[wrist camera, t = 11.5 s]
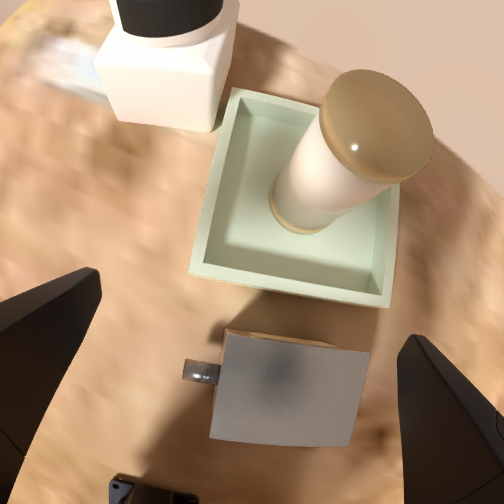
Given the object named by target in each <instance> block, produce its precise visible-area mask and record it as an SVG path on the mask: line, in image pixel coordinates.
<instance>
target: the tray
mask: <svg viewBox="0 0 504 504" xmlns="http://www.w3.org/2000/svg"><path fill="white" fill-rule="evenodd" d="M319 109H320V108H318V107H315V106H311V105H308V104H304V103H300V102H296V101H293V100H289V99H285V98H281V97H277V96H272V95H268V94H264V93H259V92H255V91H250V90H245V89H240V88H235V87H232V89H231V93H230V97H229V100H228V104H227V108H226V111H225V115H224V119H223V123H222V126H221V130H220V134H219V138H218V142H217V146H216V150H215V154H214V158H213V162H212V166H211V170H210V174H209V178H208V183H207V187H206V191H205V196H204V200H203V204H202V209H201V213H200V218H199V222H198V227H197V232H196V236H195V241H194V246H193V251H192V256H191V261H190V266H189V271H188V273H189V275H190V276H194V277H199V278H204V279H210V280H215V281H220V282H225V283H230V284H236V285H241V286H246V287H252V288H257V289H263V290H268V291H274V292H279V293H285V294H291V295H296V296H302V297H308V298H314V299H320V300H326V301H332V302H338V303H344V304H350V305H357V306H363V307H369V308H390V301H391V294H392V286H393V278H394V268H395V259H396V247H397V235H398V219H399V198H400V183H397V184H393V185H392V186H390V187H389V188H387V189H385V190H384V191H382V192H380V193H379V194H377V195H376V196H374V197H372V198H371V199H369V200H367V201H366V202H364V203H363V204H361V205H359V206H358V207H356V208H354V209H353V210H351V211H350V212H348V213H346V214H345V215H343V216H341V217H340V218H338V219H336V220H335V221H333V223H331V224H330V225H329V226H328V227H326V228H325V229H323V230H321V231H319V232H317V233H314V234H310V235H300V234H296V233H293V232H290V231H288V230H287V229H285V228H284V227H282V226H281V225H280V224H279V223H278V222H277V220H276V219H275V218H274V216H273V214H272V212H271V209H270V206H269V191H270V188H271V185H272V183H273V182H274V180H275V178H276V177H277V175H278V174H279V173H280V172H281V171H282V170H283V168H284V166H285V165H286V163H287V162H288V160H289V158H290V157H291V155H292V153H293V152H294V150H295V149H296V147H297V145H298V144H299V142H300V140H301V139H302V137H303V135H304V134H305V132H306V131H307V129H308V127H309V126H310V124H311V123H312V121H313V119H314V118H315V116H316V114H317V113H318V111H319Z"/></svg>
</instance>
